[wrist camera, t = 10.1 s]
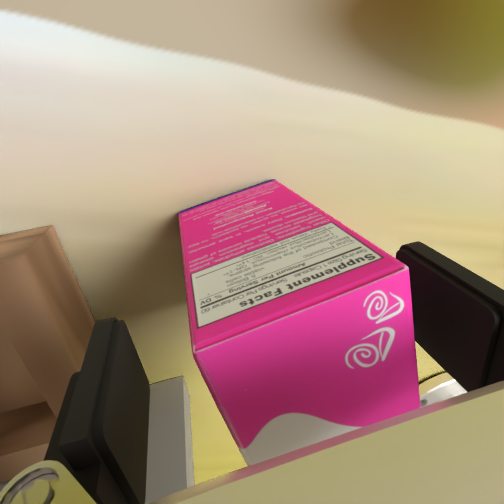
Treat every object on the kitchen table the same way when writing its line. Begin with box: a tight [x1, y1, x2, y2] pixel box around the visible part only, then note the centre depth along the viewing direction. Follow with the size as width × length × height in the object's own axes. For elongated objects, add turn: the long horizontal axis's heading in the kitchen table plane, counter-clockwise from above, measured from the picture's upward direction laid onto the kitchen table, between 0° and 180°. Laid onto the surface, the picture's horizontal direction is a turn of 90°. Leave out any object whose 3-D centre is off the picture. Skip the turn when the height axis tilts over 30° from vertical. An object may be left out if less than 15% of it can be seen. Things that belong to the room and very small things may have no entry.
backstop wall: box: [0, 376, 195, 504], centre depth 17 cm, size 16×2×9 cm, turn 99°
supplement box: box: [178, 179, 421, 466], centre depth 14 cm, size 6×6×12 cm
